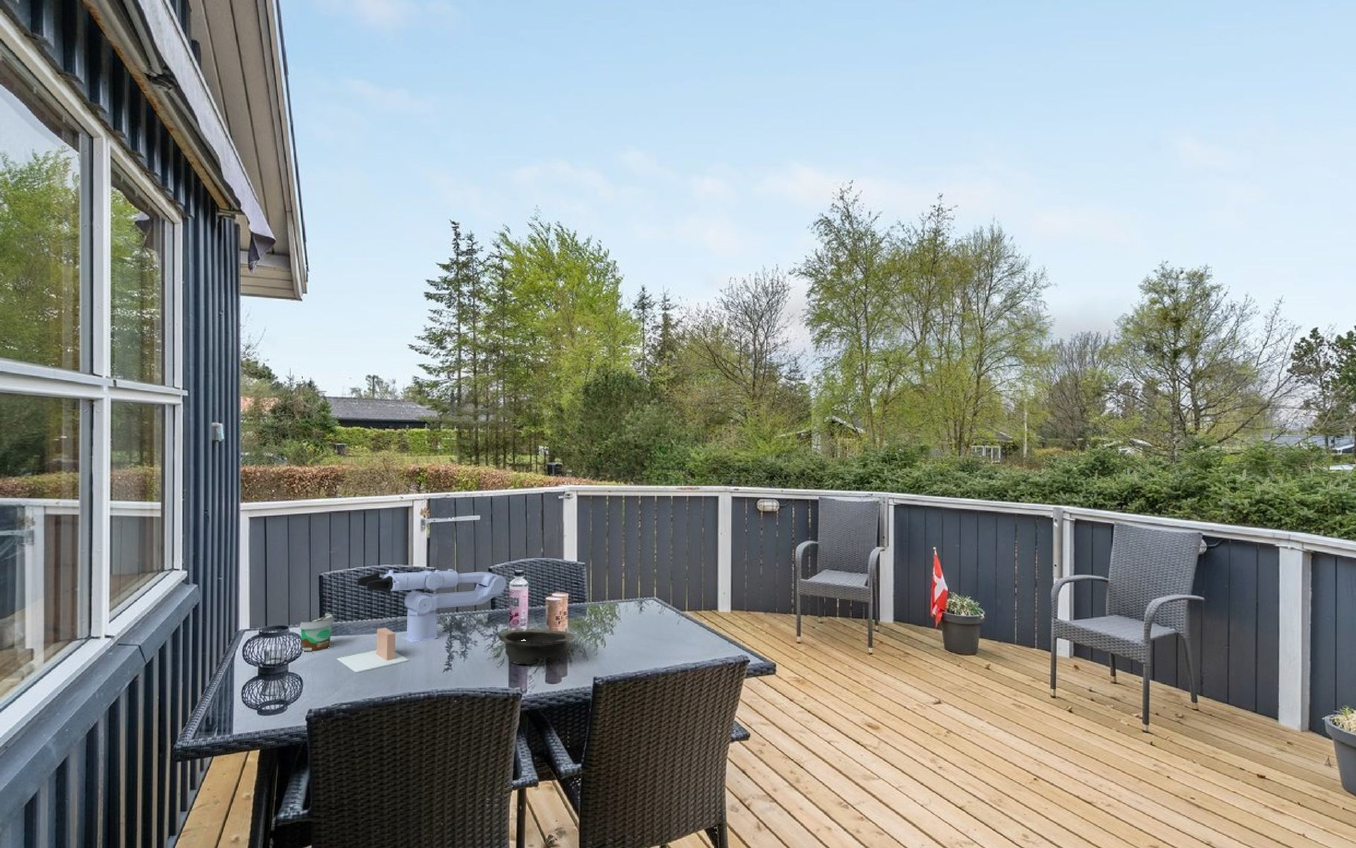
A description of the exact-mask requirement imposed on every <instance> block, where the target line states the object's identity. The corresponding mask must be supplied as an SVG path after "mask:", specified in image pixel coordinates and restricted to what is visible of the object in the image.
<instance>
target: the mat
mask: <svg viewBox="0 0 1356 848" xmlns="http://www.w3.org/2000/svg"><path fill="white" fill-rule="evenodd" d="M376 652H377V648H373V649H369V650H363V651H360V652H355V653H351V654H344V655H341V656H335V657H334V658H335V659H336V660H338V661H339V662H340V663H342V664H343V665H345V666H346V667H348V668H349V669H350V670H352V671H353V672H355V673H356V674H360V673H364V672H368V671H373V670H376V669H381V668H385V667H390V666H394V665H399V664H400V665H401V664H404V663H409V662H411V660H410V659H407V658H406V657H404V656H402V655H401V654H399V653H398V652H396V651H395V659H392V660H385V659H383V658H382V657H380V656H379V655H377V654H376Z"/></svg>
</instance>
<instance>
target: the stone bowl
mask: <svg viewBox="0 0 1356 848" xmlns="http://www.w3.org/2000/svg"><path fill="white" fill-rule="evenodd" d="M522 630H523V629H512V630H507V631H504V632H502V633H500V634H498V633H496V635H497V638H498V640H500V641H501V642H504V644H505V655H506V656H507V658H508V661H509V663H511V662H516V663H519V664H522V665H524V664H525V665H532V664H536V663H537V662H538V660H541V661H543V660H546V661H547V662H550V663H551V662H556V660H557V661H558V660H559V659H560V658H561V656H562V655H563V652H564V649H565V647H566V643H567V642H573V641H574V640H575V637H576V636H575V635H574V633H571V632H568V631H565V630H564V631H562V630H556V631H550V630H551V629H548V628H547V629H540V628H539V629H538V628H535V629H534V628H532V629H530V628H529V629H526V630H525V629H524V630H525V631H522ZM523 639H525V640H526V641H521V640H523Z"/></svg>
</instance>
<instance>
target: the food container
mask: <svg viewBox="0 0 1356 848" xmlns="http://www.w3.org/2000/svg"><path fill="white" fill-rule="evenodd" d="M333 624H335V619H334V615H333V614H331V613H328V612H327V613H325V614H324V616H321V617H319V618H317V617H316V618H314V619H312V620H310V621H308V622H305V621H304V622H303V621H301V622H300V624H299V630H300V636H301V639H300V640H301V650H302V649H303V651H304V652H307V653H311V652H317V651H322V650H328V649H329V648H330V644H331V636H332V627H333ZM328 647H329V648H328Z"/></svg>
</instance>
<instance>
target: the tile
mask: <svg viewBox="0 0 1356 848" xmlns="http://www.w3.org/2000/svg"><path fill="white" fill-rule="evenodd" d="M376 649H377V652H376V654H377V655H379V656H380V657H382V658H383V659H385V660H392V659H395V652H396V632H394V631H392V630H390V629H389V628H386V627H382V628H376Z"/></svg>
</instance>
